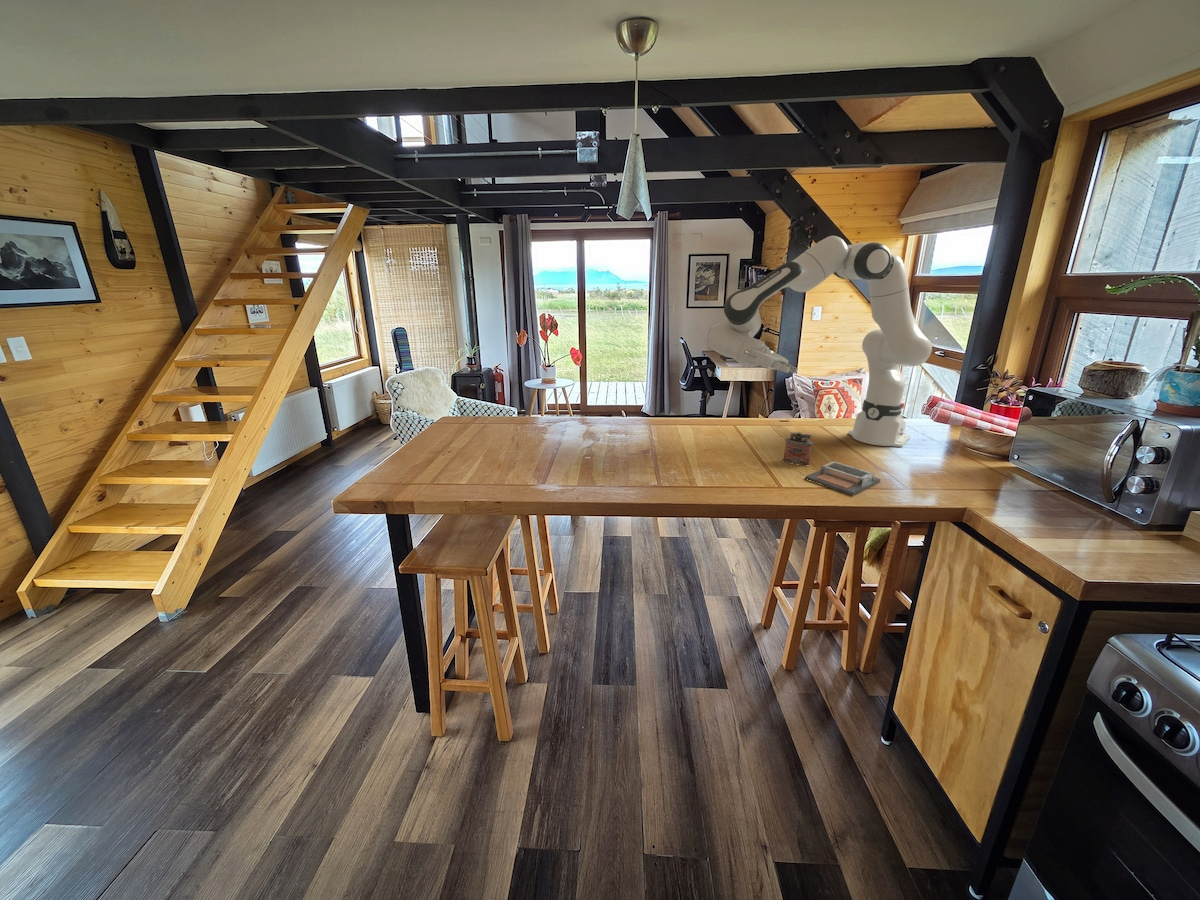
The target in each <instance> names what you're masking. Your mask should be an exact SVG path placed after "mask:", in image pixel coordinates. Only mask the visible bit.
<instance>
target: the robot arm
mask: <svg viewBox="0 0 1200 900" xmlns="http://www.w3.org/2000/svg"><path fill="white" fill-rule="evenodd" d="M833 274H834V276H836V277H837V278H838V279H839V278H840V279H843V280H850V281H859V280H865V281H866V282H867V285H868V293H869V295H868V296H869V300H870V301H869V302H870V309H871V317H872V319H873V321H874V322H875V323H876V324H877V325H878V327H879V328H880V329H873V330H871V331H869V332H868V333H867V334H865V336H864V338H863V341H862V343H861V344H862V345H861V347H862V351H863V353H864V354H865V356H866V359H867V365H868V384H867V388H866V389H867V390H866V395H865V398H864V400H863V402H862V407H861V411H860V412H859V413H857V414H856V417H855V420H854V424H853V428H852V430H849V431H848V433H847V434H848V435H850V436H851V437H852V438H853V439H854V440H856V441H858V442H861V443H864V444H869V445H872V446H873V445H874V446H880V447H881V446H882V447H900V448H903V447H904V445H905V444H906V443H908V441H909V440H910V439H911V435H910V434H908V433H905V428H906V424H907V423H906V421H905V420H904V418H903V417H902V410H903V409H904V408H905V403H904V402H902V400H903V396H904V391H905V388H906V387H905V386H906V381H905V378H904V377H903V375H902V373H901V368H900V367H918V366H921V365H923V364H924V363H925V362H926V361H927V360H928V359H929V358H930V356H931V354H932V350H933V346H932V341H931V340H930V339H929V338H927V336H925V334H923V332H922V331H921V329H920V326H919V325H918V323H917V321H916V318H915V317H914V314H913V310H912V306H911V305H912V304H911V297H910V296H911V295H910V289H909V287H910V286H909V279H908V273H907V270H906V266H905V263H904V260H903V259H902V258H901V257H900V256H899V255H894V254H892V253H891V251H890V248H888V246H886V245H885V244H883V243H879V242H875V241H874V242H863V241H862V242H857V243H853V244H847V243H846V242H845V240H844V239H843V238H842V237H839V236H836V235H830V236H827V237H826V238H825V237H824V238H823V239H821V240H820V241H818V242H816V243H815V244H813V245H811V246H810V247H809V248H807V249H806V250H805V251H804V252H802V253H801V254H800V255H798V256H797V257H796V258H794V259H793V260H791V261H788V262H785V263H783V264H782V265H780V266H778V267H776V268H775V269H774V270H772V271H771V272H769V273H767V274H766V275H764V276H762V278H760V279H758V280H757V281H756V282H754V283H753V284H751V285H749V286H747V287H745V288H742V289H740V290H737V291H735V292H733V293H732V294H730V295H729V296H728V297H727V299H726V300H725V301H724V306H723V311H724V312H723V313H724V315H725V316H726V319H724V320H723V321H721V322H719V323H716V324H712V326H711V327H710V329H709V330H708V334H707V344H708V347H709V348H710V349H712V350H713V351H714V352H716V353H718V354H720V355H721V356H724V357H726V358H730V359H733V360H734V361H736V362H737V363H739V364H740V365H743V366H746V367H748V368H750V369H752V368H754V367H762V368H763V369H768V370H775V371H781V372H782V373H792V374H796V373H798V370H799V368H798V367H795V366H793V365H792V364H791V363H789V360H788V359H787V358H786V357H784V356H782V355H780V354H778V353H777V352H775V351H773V350H771V349H770V347H769V346H767V345H766V343H765V342H764V341H763V340H759V339H757V338H755V336H756V335H757V334H758V333H759V331H760V330H761V327H762V318H761V314H760V311H759V309H760V308H761V305H762V304H763V303H765V301H766V300H768V299H769V298H771V297H773V296H774V295H776V294H777V293H778V292H780V291H781V290H783V289H786V288H790V289H791V290H793V291H794V292H799V293H807V292H809V291H812V290H813V289H814V288H816V287H818V286H819V285H820V284H821V283H823V282H824V281H825V280H826V279H828V278H829V277H830V276H831V275H833ZM909 438H910V439H909ZM908 439H909V440H908ZM907 440H908V441H907ZM902 446H903V447H902Z"/></svg>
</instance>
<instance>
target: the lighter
mask: <svg viewBox="0 0 1200 900" xmlns="http://www.w3.org/2000/svg"><path fill="white" fill-rule="evenodd" d="M812 438H813V435H812V434H809V433H808V434H807V433H802V432H801V431H798V432H790V437H786V438H785V447H784V451H783V452H784V453H783V457H782V460H783V461H784V462H783V461H782V462H783V463H785V462H788V463H787V464H789V463H793V464H792V465H794V464H799V465H798V466H800V465H809V464H811V463H810V460H811V455H812V450H813V446H814V442H813V441H810V440H812ZM809 466H810V465H809Z"/></svg>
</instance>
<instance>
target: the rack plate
mask: <svg viewBox="0 0 1200 900" xmlns="http://www.w3.org/2000/svg"><path fill="white" fill-rule="evenodd" d="M805 479H808V480H811V481H814V482H817V483H820V484H822V485H824V486H823V487H825V486H827V487H826V488H828V487H829V488H828V489H831V488H832V489H831V490H834V489H835V490H834V491H837V492H839V491H840V493H842V492H843V493H842V494H845V493H846V495H848V494H849V495H848V496H851V495H854V496H856V495H858V494H859V493H862V492H864V491H866V490H868V489H870V488H871V487H872V488H873V486H875V484H876V485H877V484H879V483H881V478H878V477H875V473H874V472H871V471H867V470H864V469H860V468H859V467H857V468H856V467H854V466H851V465H848V464H844V463H841V462H839V461H833V460H832V461H831V462H829V463H828V462H827V463H825V464H824V465H821V467H820V469H819V470H817V471H815V472H812V473H809V474H807V475H805V477H804V480H805ZM808 480H807V481H808ZM811 481H810V482H811ZM814 482H813V483H814ZM817 483H816V484H817ZM822 485H821V486H822ZM857 493H858V494H857ZM855 494H856V495H855Z"/></svg>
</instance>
